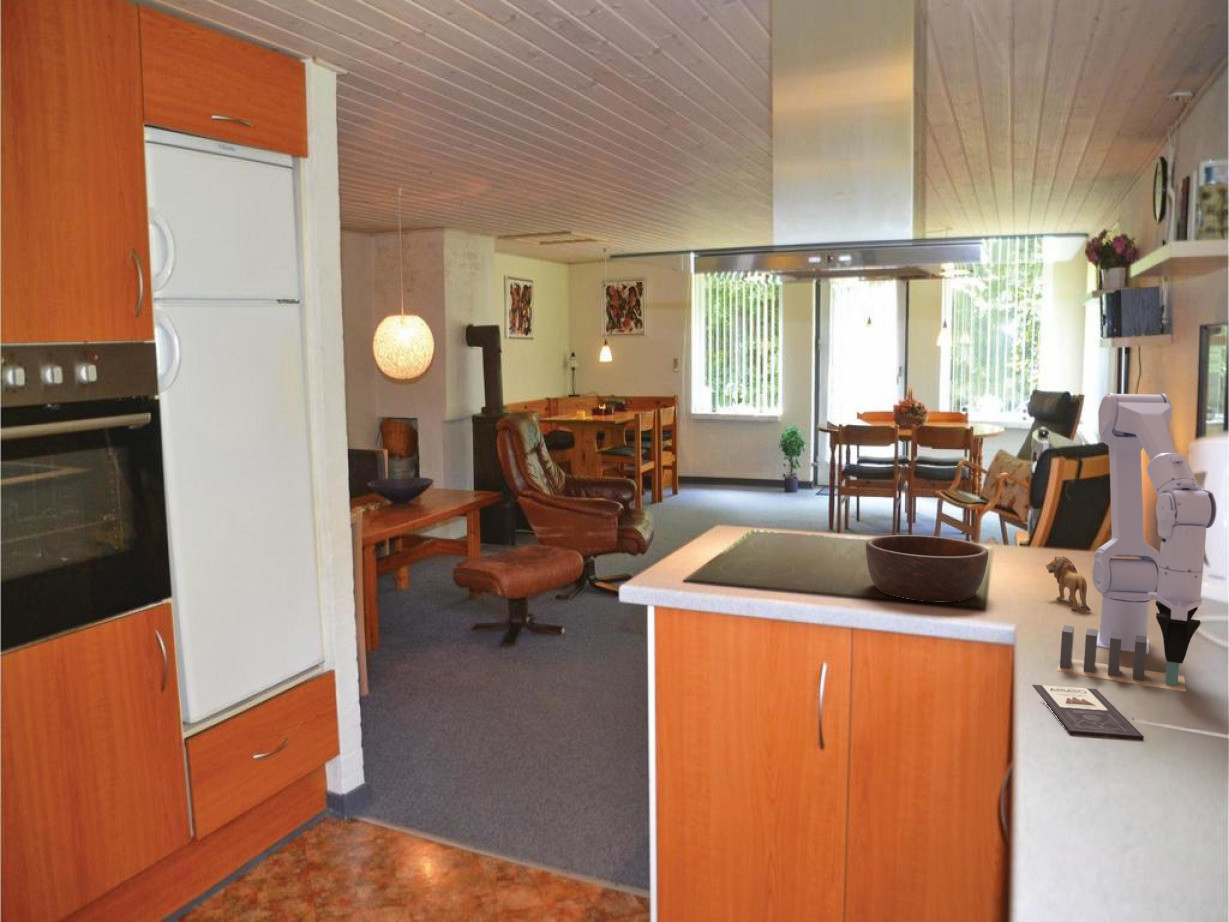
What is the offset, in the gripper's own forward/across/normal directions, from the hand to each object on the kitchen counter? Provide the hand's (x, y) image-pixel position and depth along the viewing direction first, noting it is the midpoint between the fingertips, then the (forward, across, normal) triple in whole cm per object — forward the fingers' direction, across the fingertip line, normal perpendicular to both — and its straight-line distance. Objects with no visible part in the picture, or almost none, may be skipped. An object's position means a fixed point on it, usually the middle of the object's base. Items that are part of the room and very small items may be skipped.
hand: (1173, 654), depth 140 cm
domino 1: (+4, 0, -15) cm, 15 cm away
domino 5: (+4, 0, 0) cm, 4 cm away
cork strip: (+5, 0, -7) cm, 8 cm away
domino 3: (+4, 0, -8) cm, 9 cm away
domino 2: (+4, 0, -11) cm, 12 cm away
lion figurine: (+5, -46, -17) cm, 50 cm away
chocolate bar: (+5, +20, -11) cm, 24 cm away
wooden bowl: (+5, -40, -45) cm, 60 cm away
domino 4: (+4, 0, -4) cm, 6 cm away
